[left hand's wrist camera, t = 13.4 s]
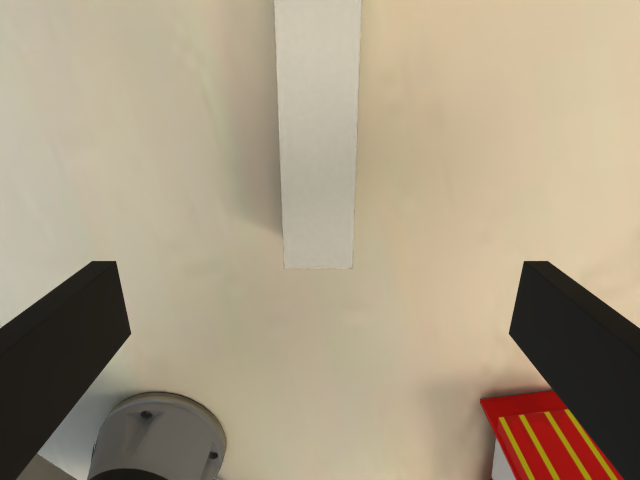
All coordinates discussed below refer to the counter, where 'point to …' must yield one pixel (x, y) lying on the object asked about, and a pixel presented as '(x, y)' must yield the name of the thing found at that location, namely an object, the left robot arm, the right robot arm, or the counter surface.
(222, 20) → the counter surface
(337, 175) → the bar
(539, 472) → the toy
